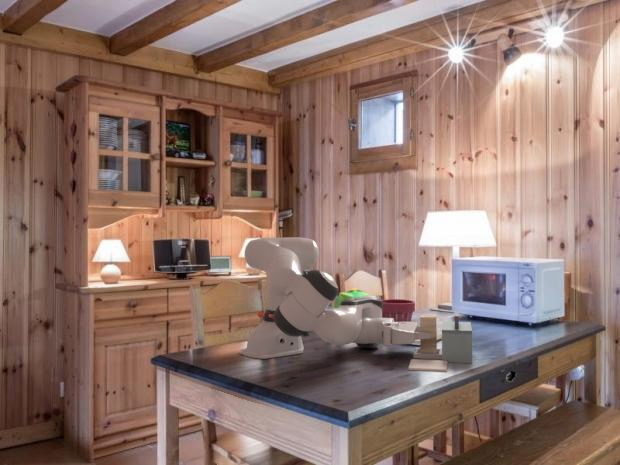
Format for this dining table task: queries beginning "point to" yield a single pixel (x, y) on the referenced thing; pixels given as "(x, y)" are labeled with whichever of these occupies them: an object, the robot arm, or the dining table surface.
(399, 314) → the plant pot
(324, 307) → the robot arm
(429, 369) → the pad
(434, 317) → the wooden block
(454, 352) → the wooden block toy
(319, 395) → the dining table surface
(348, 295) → the green rounded piece
